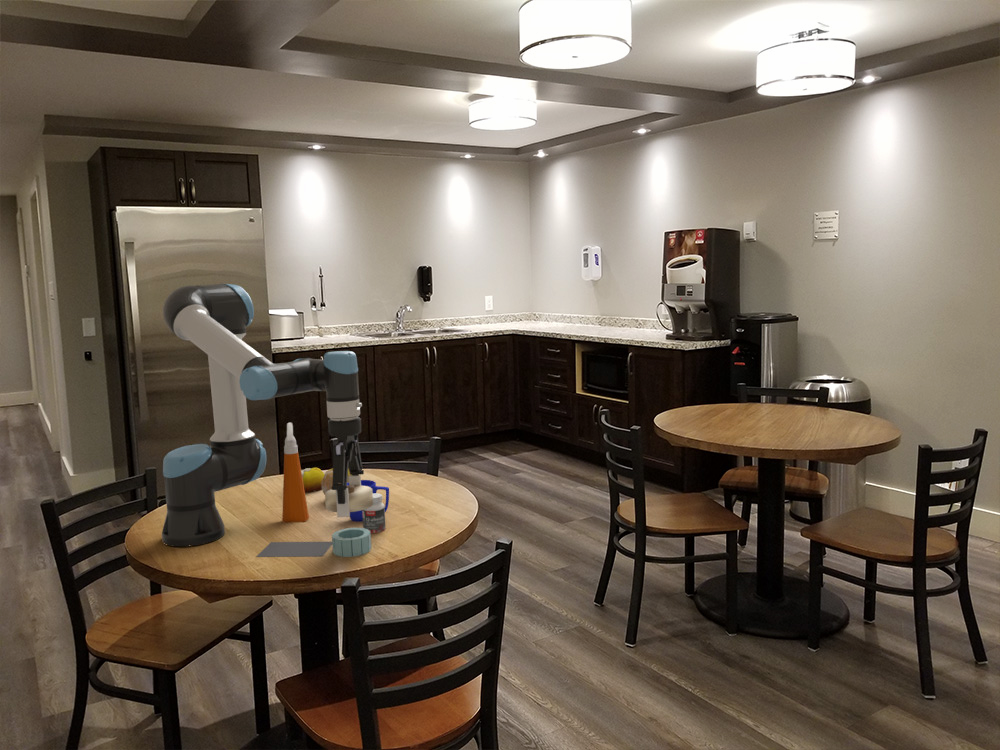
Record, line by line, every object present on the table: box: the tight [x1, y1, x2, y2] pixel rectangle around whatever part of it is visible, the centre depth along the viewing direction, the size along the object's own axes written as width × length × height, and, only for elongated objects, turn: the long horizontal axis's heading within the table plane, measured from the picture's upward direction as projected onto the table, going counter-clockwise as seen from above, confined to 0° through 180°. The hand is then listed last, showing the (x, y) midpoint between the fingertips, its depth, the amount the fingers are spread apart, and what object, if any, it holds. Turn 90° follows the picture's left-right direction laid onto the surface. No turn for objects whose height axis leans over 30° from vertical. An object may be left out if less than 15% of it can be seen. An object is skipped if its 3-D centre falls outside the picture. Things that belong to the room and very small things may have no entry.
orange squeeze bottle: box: [281, 422, 310, 523], centre depth 214 cm, size 7×11×26 cm, turn 14°
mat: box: [255, 541, 332, 558], centre depth 189 cm, size 16×10×1 cm, turn 86°
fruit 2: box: [321, 467, 350, 495], centre depth 232 cm, size 10×11×10 cm
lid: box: [324, 485, 373, 513], centre depth 185 cm, size 11×11×5 cm
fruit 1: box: [301, 467, 325, 494], centre depth 246 cm, size 11×10×8 cm
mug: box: [347, 479, 390, 523], centre depth 212 cm, size 8×12×10 cm
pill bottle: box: [362, 492, 387, 534], centre depth 201 cm, size 6×6×10 cm
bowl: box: [331, 527, 372, 558], centre depth 187 cm, size 9×9×5 cm
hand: (350, 508), depth 185 cm, fingers closed on lid, 11 cm apart
